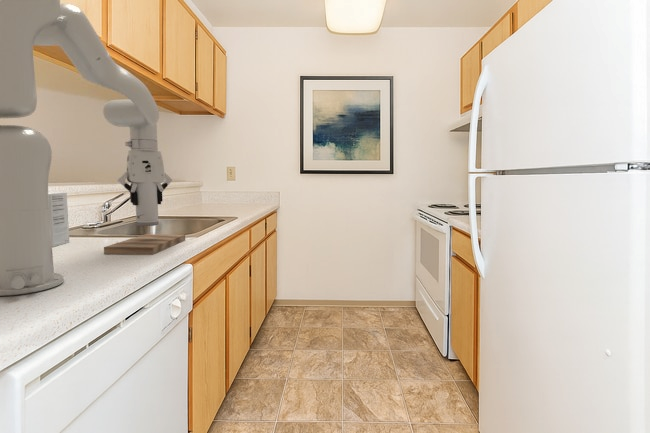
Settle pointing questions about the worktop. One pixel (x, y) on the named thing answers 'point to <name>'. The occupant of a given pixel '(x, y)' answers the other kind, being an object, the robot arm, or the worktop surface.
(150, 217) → the travel mug
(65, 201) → the supplement box
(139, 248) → the walnut board
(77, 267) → the worktop surface
